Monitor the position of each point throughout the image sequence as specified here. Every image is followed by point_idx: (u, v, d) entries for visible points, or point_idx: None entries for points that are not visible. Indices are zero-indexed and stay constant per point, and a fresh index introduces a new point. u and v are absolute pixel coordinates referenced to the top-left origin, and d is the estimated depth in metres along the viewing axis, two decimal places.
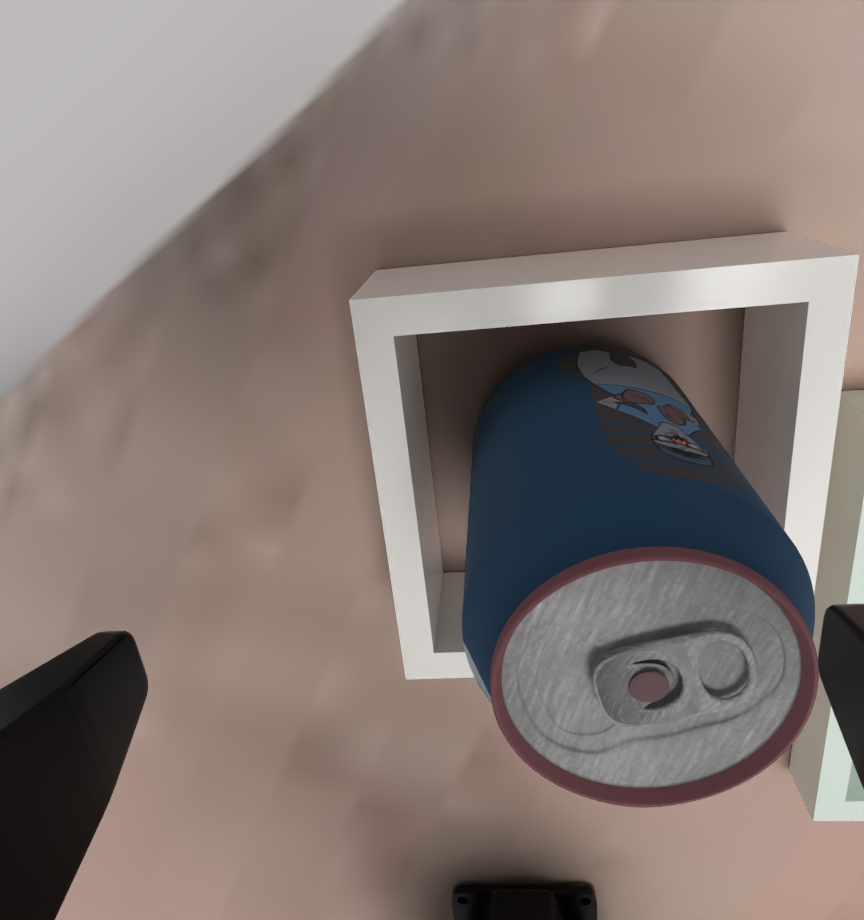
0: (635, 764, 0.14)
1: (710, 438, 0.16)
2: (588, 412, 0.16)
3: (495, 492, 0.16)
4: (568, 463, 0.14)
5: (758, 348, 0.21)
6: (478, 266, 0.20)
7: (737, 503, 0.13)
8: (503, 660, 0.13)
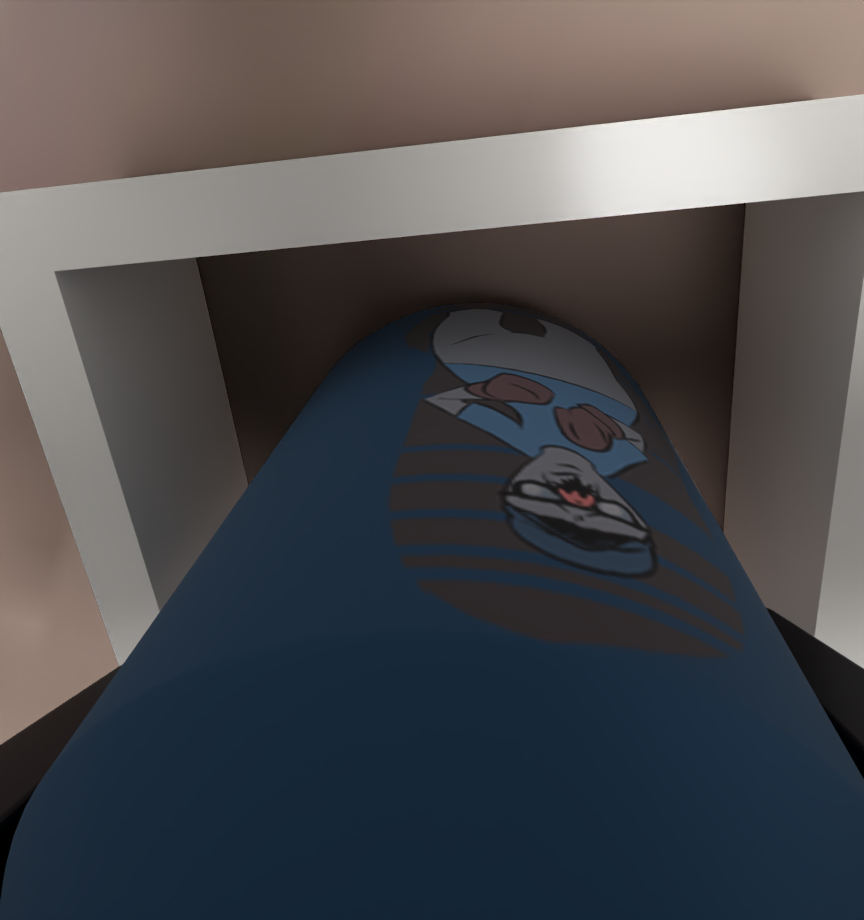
0: None
1: (665, 479, 0.07)
2: (396, 421, 0.07)
3: None
4: (271, 560, 0.05)
5: (766, 306, 0.12)
6: None
7: (714, 726, 0.04)
8: None
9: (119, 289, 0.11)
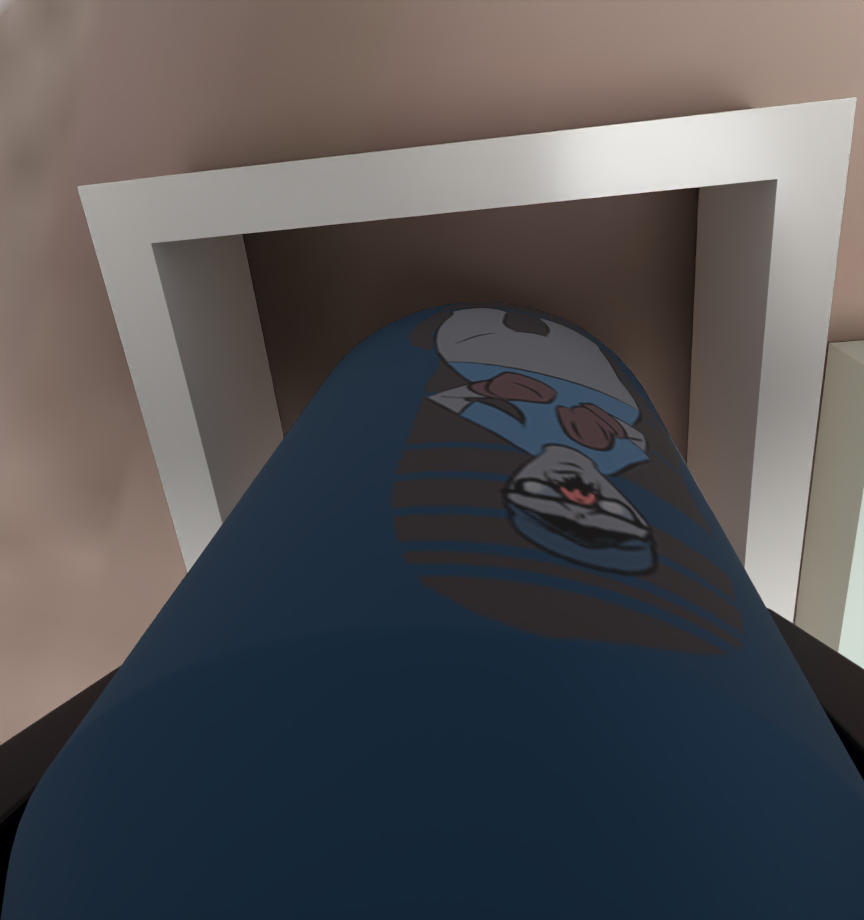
0: None
1: (667, 478, 0.07)
2: (399, 420, 0.07)
3: (166, 602, 0.07)
4: (274, 555, 0.05)
5: (713, 276, 0.14)
6: None
7: (711, 720, 0.04)
8: None
9: (192, 260, 0.13)
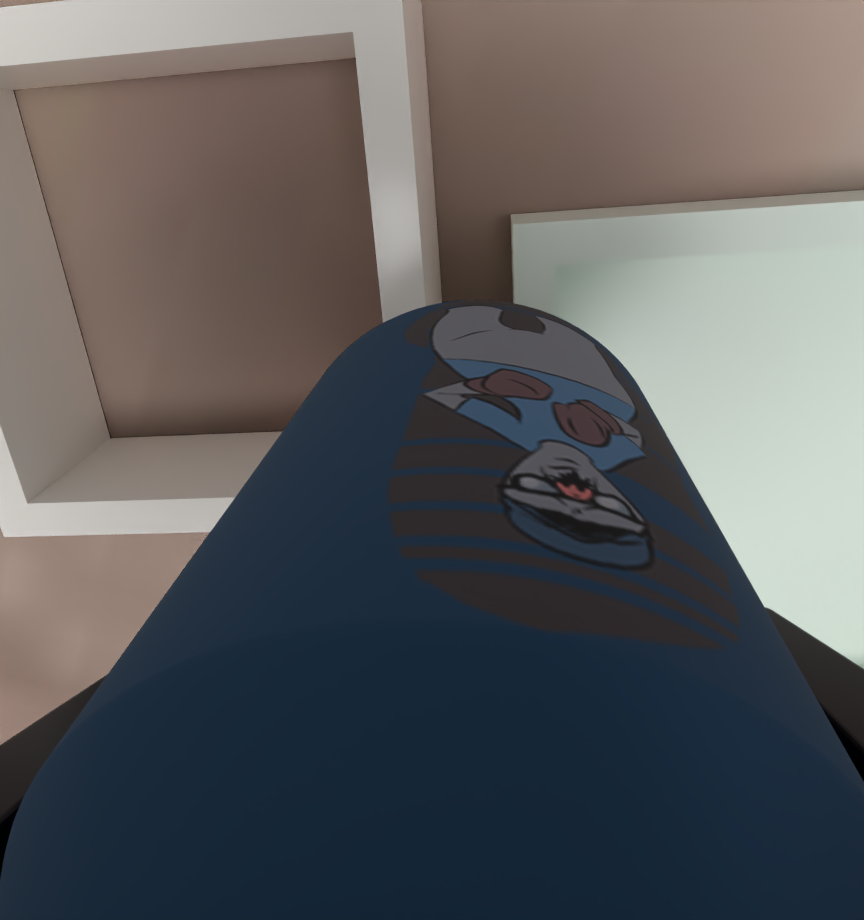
0: None
1: (663, 475, 0.07)
2: (395, 416, 0.07)
3: None
4: (270, 550, 0.05)
5: None
6: None
7: (710, 713, 0.04)
8: None
9: None
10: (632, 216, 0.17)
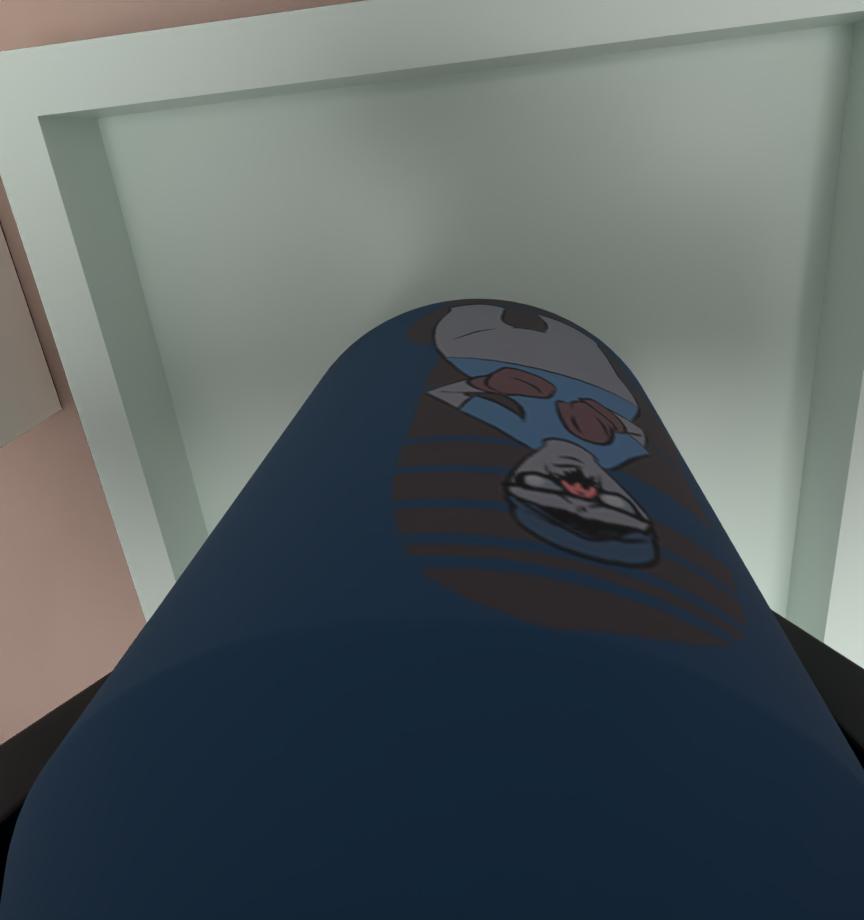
0: None
1: (667, 473, 0.07)
2: (399, 414, 0.07)
3: (164, 598, 0.07)
4: (275, 548, 0.05)
5: None
6: None
7: (716, 711, 0.04)
8: None
9: None
10: (123, 36, 0.12)
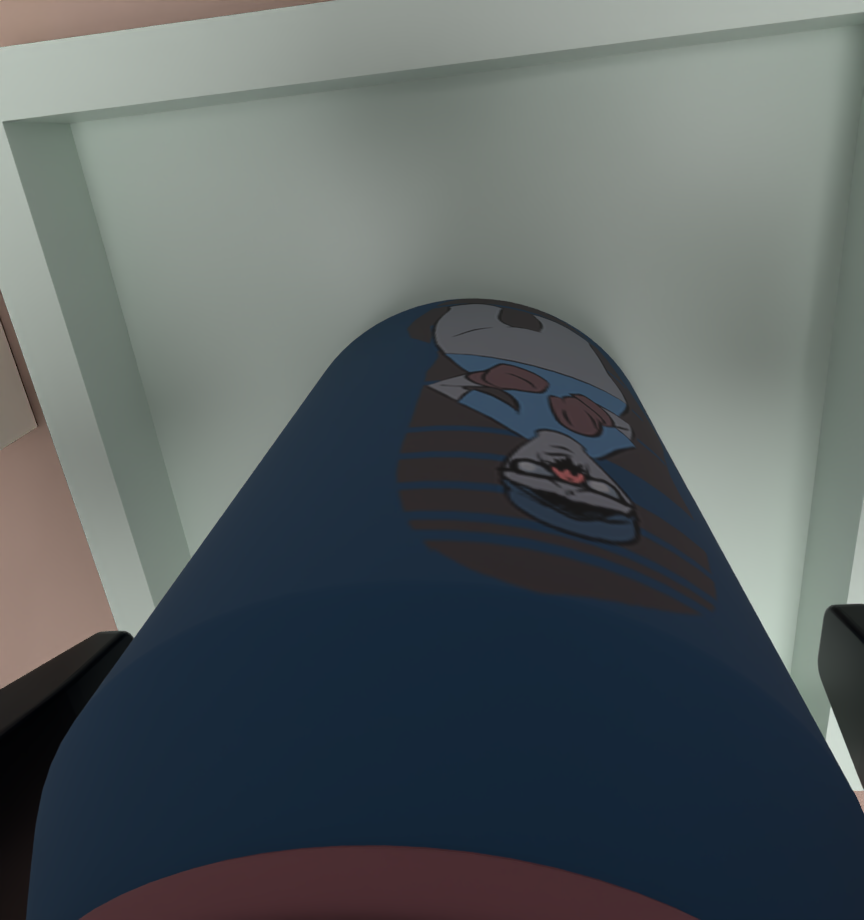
0: None
1: (651, 464, 0.08)
2: (401, 405, 0.08)
3: (181, 573, 0.07)
4: (289, 523, 0.06)
5: None
6: None
7: (685, 667, 0.05)
8: None
9: None
10: (92, 36, 0.11)
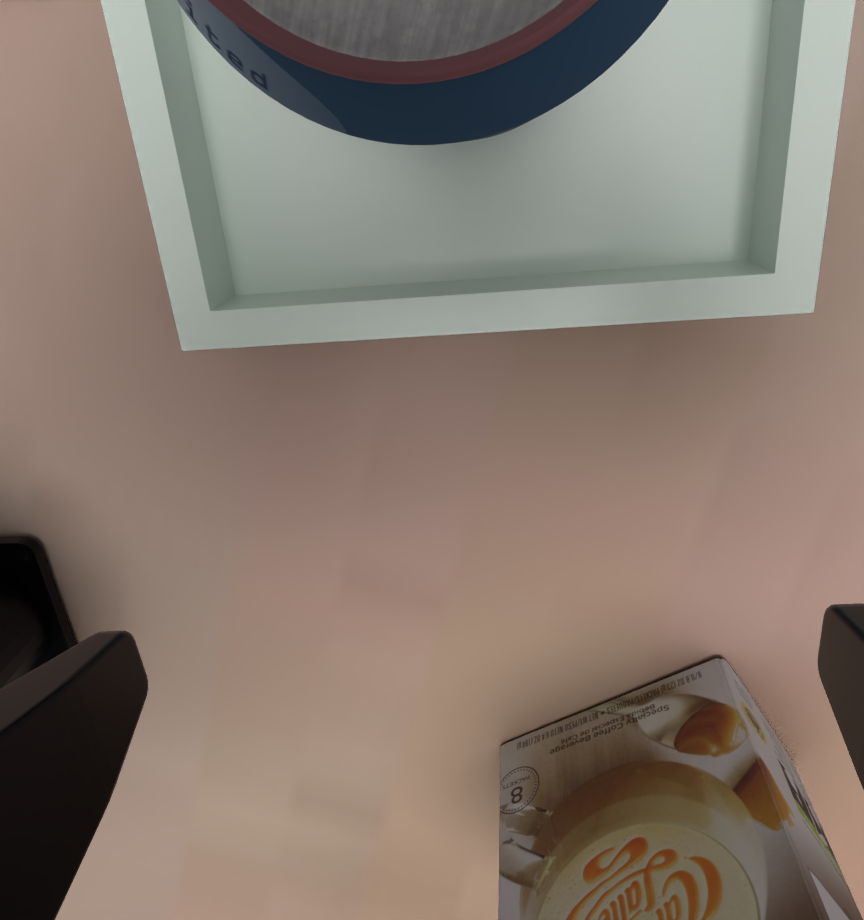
0: None
1: None
2: None
3: None
4: None
5: None
6: None
7: None
8: None
9: None
10: None
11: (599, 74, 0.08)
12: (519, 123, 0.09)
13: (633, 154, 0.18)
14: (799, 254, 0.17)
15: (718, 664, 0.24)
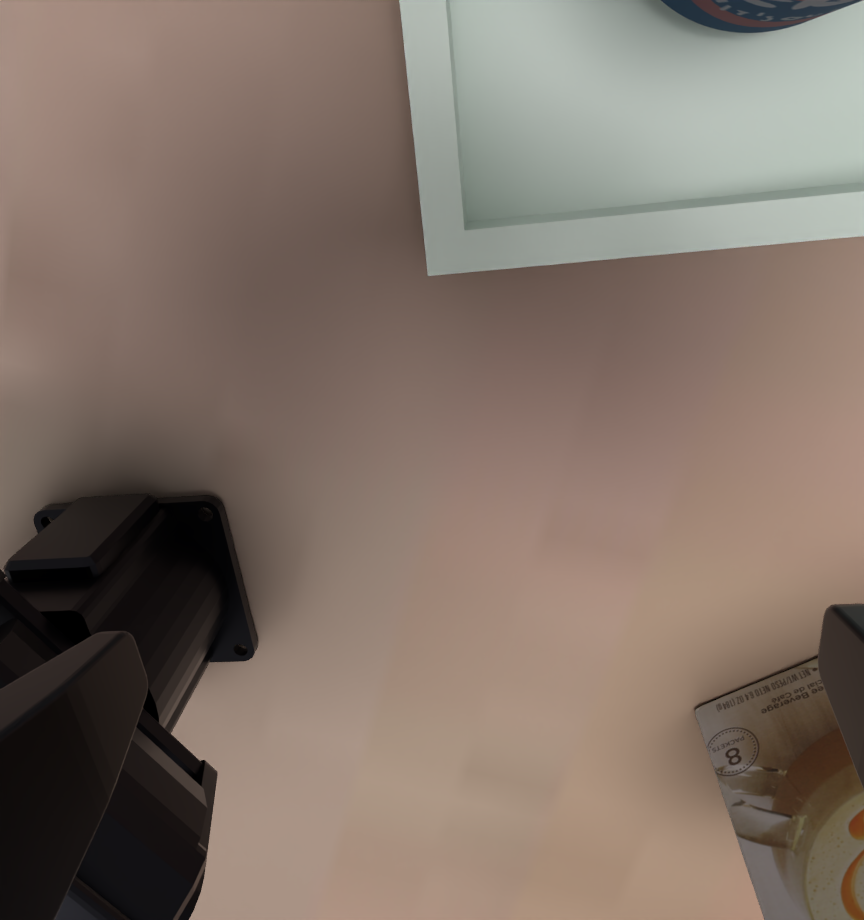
0: None
1: None
2: None
3: None
4: None
5: None
6: None
7: None
8: None
9: None
10: None
11: None
12: None
13: None
14: None
15: None
